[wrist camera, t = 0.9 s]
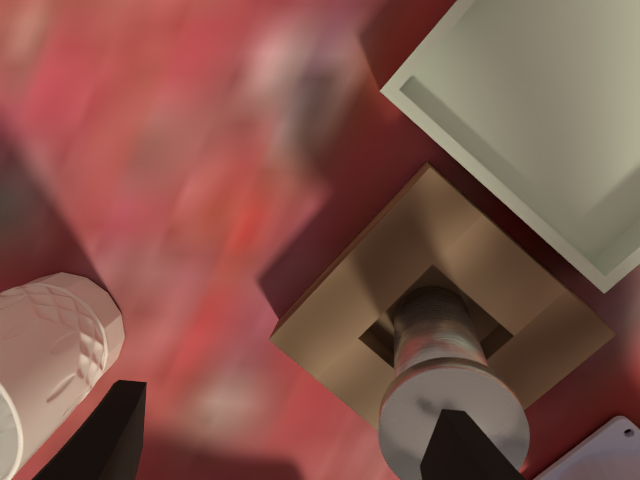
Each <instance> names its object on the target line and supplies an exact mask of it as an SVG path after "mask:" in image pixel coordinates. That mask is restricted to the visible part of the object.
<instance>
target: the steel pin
mask: <svg viewBox="0 0 640 480" xmlns="http://www.w3.org/2000/svg"><path fill="white" fill-rule="evenodd" d="M442 409H450V410H461V411H465V412H466V413H467V414H468V415H469V416H470V417H471V418H472V419H473V420H474V422H475V423H476V424H477V425H478V426H479V427H480V428H481V430H482V431H483V432H484V433H485V434H486V435H487V437H488V438H489V439H490V440H491V441H492V442H493V443H494V445H495V446H496V447H497V448H498V449H499V450H500V452H501V453H502V454H503V455H504V456H505V457H506V458H507V460H508V461H509V462H510V463H511V464H512V465H513V466H514V467H515V469H516V470H517V471H518V470H519V469H520V467H521V466H522V464H523V463H524V460H525V458H526V456H527V452H528V449H529V442H530V431H529V425H528V421H527V418H526V416H525V413H524V411H523V408H522V406H521V404H520V401H519V399H518V397H517V395H516V393H515V391H514V389H513V388H512V387H511V385H510V384H509V383H508V382H507V381H506V380H505V379H504V378H503V377H502V376H501V375H500V374H499V373H497V372H496V371H495V370H493V369H491V368H490V367H489V366H488V363H487V361H486V358H485V355H484V352H483V350H482V347H481V344H480V341H479V339H478V336H477V333H476V330H475V327H474V325H473V322H472V319H471V316H470V314H469V311H468V308H467V306H466V304H465V303H464V301H463V300H462V299H461V298H460V297H459V296H458V295H457V294H456V293H454V292H453V291H451V290H449V289H447V288H444V287H440V286H424V287H420V288H417V289H414V290H412V291H411V292H409V293H408V294H406V295H405V296H404V297H403V298H402V299H401V301H400V302H399V304H398V305H397V307H396V310H395V314H394V380H393V381H392V382H391V384H390V385H389V387H388V388H387V390H386V392H385V394H384V396H383V398H382V401H381V404H380V410H379V428H378V438H379V445H380V448H381V452H382V454H383V456H384V459H385V461H386V462H387V464H388V466H389V467H390V468H391V470H392V471H393V472H394V473H395V474H396V475H397V476H398V477H399V478H400V479H401V480H422V477H421V471H420V464H421V462H422V459H423V456H424V454H425V451H426V449H427V446H428V444H429V441H430V438H431V436H432V433H433V431H434V428H435V425H436V423H437V420H438V418H439V415H440V412H441V410H442Z"/></svg>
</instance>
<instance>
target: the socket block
mask: <svg viewBox="0 0 640 480" xmlns="http://www.w3.org/2000/svg"><path fill="white" fill-rule="evenodd" d="M424 286H440V287H444V288H447V289H449V290H451V291H453V292H454V293H456V294H457V295H458V296H459V297H460V298H461V299H462V300H463V301H464V303H465V304H466V306H467V308H468V311H469V314H470V316H471V319H472V322H473V325H474V327H475V330H476V333H477V336H478V339H479V341H480V344H481V347H482V350H483V352H484V355H485V358H486V361H487V363H488V366H489V367H490V368H491V369H493V370H495V371H496V372H497V373H499V374H500V375H501V376H502V377H503V378H504V379H505V380H506V381H507V382H508V383H509V384H510V385H511V387H512V388H513V389H514V391H515V393H516V395H517V397H518V399H519V401H520V404H521V406H522V408H523V411H524V410H525V409H527V408H528V407H529V406H530V405H532V404H533V403H534V402H535V401H536V400H538V399H539V398H540V397H541V396H542V395H544V394H545V393H546V392H547V391H549V390H550V389H551V388H552V387H553V386H555V385H556V384H557V383H558V382H560V381H561V380H562V379H563V378H564V377H566V376H567V375H568V374H569V373H571V372H572V371H573V370H574V369H575V368H577V367H578V366H579V365H580V364H581V363H583V362H584V361H585V360H586V359H588V358H589V357H590V356H591V355H592V354H594V353H595V352H596V351H597V350H599V349H600V348H601V347H602V346H603V345H605V344H606V343H607V342H608V341H609V340H611V339H612V338H613V337H614V336H616V335H617V334H616V333H615V332H614V331H613V330H612V329H611V328H610V327H609V326H608V325H607V324H606V323H605V322H604V321H603V320H602V319H601V318H600V317H599V316H598V314H597V313H595V312H594V311H593V310H592V309H591V308H590V307H589V306H588V305H587V304H585V303H584V302H583V301H582V300H581V299H580V298H579V297H578V296H576V295H575V294H574V293H573V292H572V291H571V290H570V289H569V288H568V287H566V286H565V285H564V284H563V283H562V282H561V281H560V280H559V279H558V278H556V277H555V276H554V275H553V274H552V273H551V272H550V271H549V270H548V269H546V268H545V267H544V266H543V265H542V264H541V263H540V262H539V261H537V260H536V259H535V258H534V257H533V256H532V255H531V254H530V253H529V252H527V251H526V250H525V249H524V248H523V247H522V246H521V245H520V244H519V243H517V242H516V241H515V240H514V239H513V238H512V237H511V236H510V235H509V234H507V233H506V232H505V231H504V230H503V229H502V228H501V227H500V226H498V225H497V224H496V223H495V222H494V221H493V220H492V219H491V218H490V217H488V216H487V215H486V214H485V213H484V212H483V211H482V210H481V209H480V208H478V207H477V206H476V205H475V204H474V203H473V202H472V201H471V200H470V199H468V198H467V197H466V196H465V195H464V194H463V193H462V192H461V191H459V190H458V189H457V188H456V187H455V186H454V185H453V184H452V183H451V182H449V181H448V180H447V179H446V178H445V177H444V176H443V175H442V174H441V173H439V172H438V171H437V170H436V169H435V168H434V167H433V166H432V165H430V164H429V163H428V162H427V161H426V162H425V163H424V164H423V165H422V166H421V167H420V169H419V170H418V171H417V172H416V173H415V174H414V175H413V176H412V177H411V178H410V179H409V180H408V181H407V183H406V184H405V185H404V186H403V187H402V188H401V189H400V190H399V191H398V192H397V193H396V194H395V195H394V197H393V198H392V199H391V200H390V201H389V202H388V203H387V204H386V205H385V206H384V207H383V208H382V209H381V211H380V212H379V213H378V214H377V215H376V216H375V217H374V218H373V219H372V220H371V221H370V222H369V223H368V225H367V226H366V227H365V228H364V229H363V230H362V231H361V232H360V233H359V234H358V235H357V236H356V237H355V239H354V240H353V241H352V242H351V243H350V244H349V245H348V246H347V247H346V248H345V249H344V250H343V251H342V253H341V254H340V255H339V256H338V257H337V258H336V259H335V260H334V261H333V262H332V263H331V264H330V265H329V267H328V268H327V269H326V270H325V271H324V272H323V273H322V274H321V275H320V276H319V277H318V278H317V279H316V281H315V282H314V283H313V284H312V285H311V286H310V287H309V288H308V289H307V290H306V291H305V292H304V293H303V295H302V296H301V297H300V298H299V299H298V300H297V301H296V302H295V303H294V304H293V305H292V306H291V307H290V309H289V310H288V311H287V312H286V313H285V314H284V315H283V316H282V317H281V318H280V319H279V321H278V323H277V325H276V327H275V329H274V330H273V332H272V334H271V336H270V338H269V340H270V341H271V342H272V343H273V344H275V345H276V346H277V347H278V348H279V349H281V350H282V351H283V352H284V353H285V354H287V355H288V356H289V357H290V358H291V359H293V360H294V361H295V362H296V363H297V364H298V365H300V366H301V367H302V368H303V369H304V370H306V371H307V372H308V373H309V374H310V375H312V376H313V377H314V378H315V379H316V380H318V381H319V382H320V383H321V384H322V385H324V386H325V387H326V388H327V389H328V390H330V391H331V392H332V393H333V394H334V395H336V396H337V397H338V398H339V399H340V400H342V401H343V402H344V403H345V404H346V405H348V406H349V407H350V408H351V409H352V410H353V411H355V412H356V413H357V414H358V415H359V416H361V417H362V418H363V419H364V420H365V421H367V422H368V423H369V424H370V425H371V426H373V427H374V428H375V429H376V430H377V431H378V428H379V410H380V404H381V401H382V398H383V396H384V394H385V392H386V390H387V388H388V387H389V385H390V384H391V382H392V381H393V380H394V314H395V310H396V307H397V305H398V304H399V302H400V301H401V299H402V298H403V297H404V296H405V295H406V294H408V293H409V292H411V291H412V290H414V289H417V288H420V287H424Z"/></svg>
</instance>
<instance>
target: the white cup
mask: <svg viewBox="0 0 640 480" xmlns="http://www.w3.org/2000/svg"><path fill="white" fill-rule="evenodd" d="M124 339H125V333H124V327H123V321H122V314H121V312H120V311H119V309H118V308H117V306H116V305H115V303H114V301H113V300H112V298H111V297H110V295H109V294H108V292H106V291H105V290H104V289H102V288H101V287H99V286H98V285H96V284H95V283H94V282H92V281H91V280H89V279H88V278H86V277H82V276H78V275H73V274H69V273H64V272H60V273H56V274H52V275H48V276H44V277H40V278H37V279H35V280H33V281H31V282H29V283H26V284H24V285H22V286H17V287H14V288H11V289H8V290H6V291H3V292H1V293H0V480H11V479H12V478H13V477H14V476H15V475H16V473H17V472H18V471H19V470H20V469H21V468H22V467H23V466H24V465H25V463H26V462H27V461H28V460H29V459H30V458H31V457H32V456H33V455H34V454H35V453H36V451H37V450H38V449H39V448H40V447H41V446H42V445H43V444H44V443H45V442H46V441H47V440H48V438H49V437H50V436H51V435H52V434H53V433H54V432H55V431H56V430H57V429H58V428H59V426H60V425H61V424H62V423H63V422H64V421H65V420H66V419H67V418H68V416H69V415H70V414H71V413H72V412H73V410H74V409H75V408H76V407H77V406H78V405H79V403H80V402H81V401H82V400H83V399H84V398H85V397H86V396H87V394H88V393H89V392H90V391H91V389H92V388H93V386H94V385H95V383H96V382H97V380H98V379H99V378H100V377H101V376H102V375H103V374H104V373H105V372H106V371H107V370H108V369H109V367H110V366H111V365H112V364H113V363H114V362H115V361H116V360H117V359H118V357H119V354H120V351H121V348H122V345H123V342H124Z"/></svg>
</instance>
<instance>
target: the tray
mask: <svg viewBox="0 0 640 480" xmlns="http://www.w3.org/2000/svg"><path fill="white" fill-rule="evenodd" d="M380 92H381V93H382V94H383V95H384V96H386V97H387V98H388V99H389V100H390V101H391V102H392V103H393V104H394V105H396V106H397V107H398V108H399V109H400V110H401V111H402V112H403V113H404V114H406V115H407V116H408V117H409V118H410V119H411V120H412V121H413V122H414V123H415V124H417V125H418V126H419V127H420V128H421V129H422V130H423V131H424V132H425V133H427V134H428V135H429V136H430V137H431V138H432V139H433V140H434V141H435V142H437V143H438V144H439V145H440V146H441V147H442V148H443V149H444V150H445V151H446V152H448V153H449V154H450V155H451V156H452V157H453V158H454V159H455V160H456V161H458V162H459V163H460V164H461V165H462V166H463V167H464V168H465V169H466V170H468V171H469V172H470V173H471V174H472V175H473V176H474V177H475V178H476V179H478V180H479V181H480V182H481V183H482V184H483V185H484V186H485V187H486V188H487V189H489V190H490V191H491V192H492V193H493V194H494V195H495V196H496V197H497V198H499V199H500V200H501V201H502V202H503V203H504V204H505V205H506V206H507V207H509V208H510V209H511V210H512V211H513V212H514V213H515V214H516V215H517V216H519V217H520V218H521V219H522V220H523V221H524V222H525V223H526V224H527V225H528V226H530V227H531V228H532V229H533V230H534V231H535V232H536V233H537V234H538V235H540V236H541V237H542V238H543V239H544V240H545V241H546V242H547V243H548V244H550V245H551V246H552V247H553V248H554V249H555V250H556V251H557V252H558V253H559V254H561V255H562V256H563V257H564V258H565V259H566V260H567V261H568V262H569V263H571V264H572V265H573V266H574V267H575V268H576V269H577V270H578V271H579V272H581V273H582V274H583V275H584V276H585V277H586V278H587V279H588V280H589V281H591V282H592V283H593V284H594V285H595V286H596V287H597V288H598V289H599V290H600V291H602V292H603V293H604V294H605V293H606V292H607V291H608V290H609V289H611V288H612V287H613V286H614V285H615V284H616V283H618V282H619V281H620V280H621V279H622V278H623V277H625V276H626V275H627V274H628V273H629V272H630V271H632V270H633V269H634V268H635V267H636V266H637V265H639V264H640V0H457V1H456V2H455V3H454V4H453V6H452V7H451V8H450V9H449V10H448V12H447V13H446V14H445V15H444V16H443V17H442V19H441V20H440V21H439V22H438V23H437V24H436V26H435V27H434V28H433V29H432V30H431V31H430V33H429V34H428V35H427V36H426V37H425V39H424V40H423V41H422V42H421V43H420V44H419V46H418V47H417V48H416V49H415V50H414V51H413V53H412V54H411V55H410V56H409V57H408V58H407V60H406V61H405V62H404V63H403V64H402V66H401V67H400V68H399V69H398V70H397V71H396V73H395V74H394V75H393V76H392V77H391V78H390V80H389V81H388V82H387V83H386V84H385V85H384V87H383V88H382V89H381V90H380Z"/></svg>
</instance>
